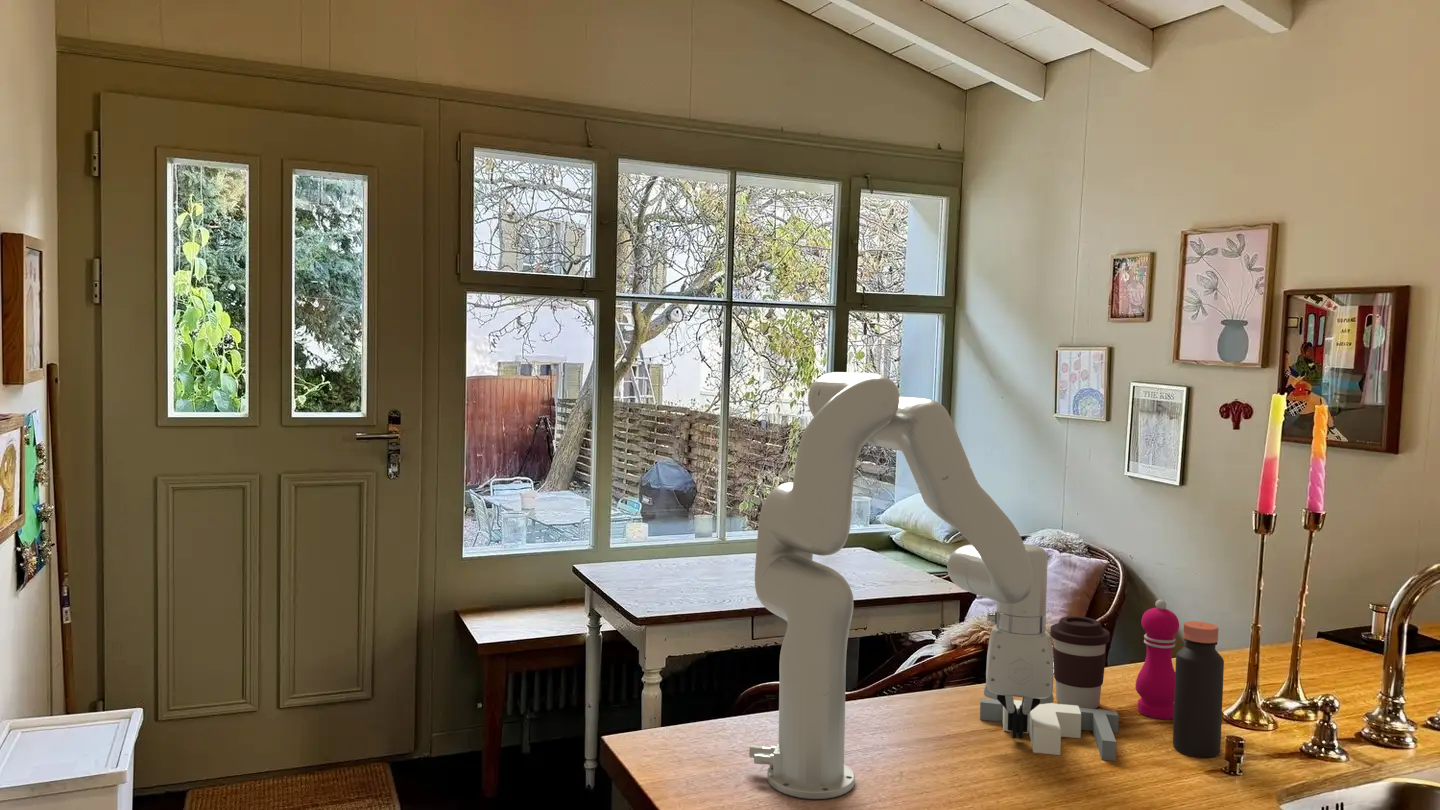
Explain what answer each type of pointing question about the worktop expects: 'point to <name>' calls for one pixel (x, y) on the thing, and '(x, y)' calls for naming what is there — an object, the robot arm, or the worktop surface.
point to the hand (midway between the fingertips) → (1017, 735)
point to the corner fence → (1091, 719)
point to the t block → (1049, 725)
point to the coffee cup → (1079, 660)
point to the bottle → (1198, 692)
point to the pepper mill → (1158, 663)
